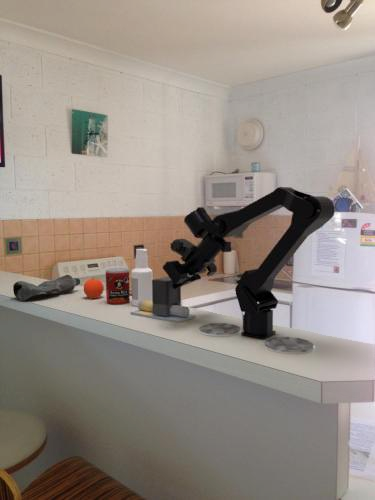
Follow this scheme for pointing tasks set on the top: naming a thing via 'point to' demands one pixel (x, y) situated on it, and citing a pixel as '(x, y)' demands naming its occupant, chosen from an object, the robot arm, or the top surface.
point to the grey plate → (175, 315)
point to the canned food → (117, 286)
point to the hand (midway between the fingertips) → (174, 287)
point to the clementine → (93, 288)
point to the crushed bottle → (45, 287)
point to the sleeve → (164, 295)
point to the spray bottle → (141, 278)
